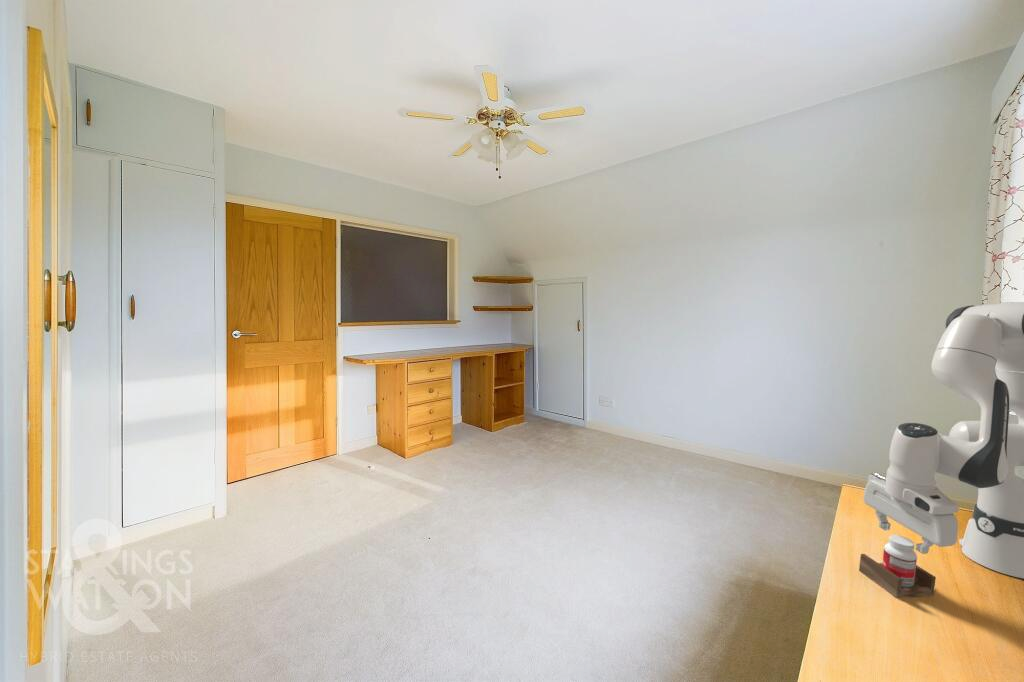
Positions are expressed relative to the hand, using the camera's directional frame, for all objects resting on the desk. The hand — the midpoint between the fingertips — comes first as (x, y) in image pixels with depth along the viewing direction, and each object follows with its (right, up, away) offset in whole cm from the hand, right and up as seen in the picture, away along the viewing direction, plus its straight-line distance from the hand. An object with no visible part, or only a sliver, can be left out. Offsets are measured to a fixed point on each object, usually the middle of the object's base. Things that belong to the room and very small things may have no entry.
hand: (902, 539), depth 107 cm
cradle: (-1, -12, +1) cm, 12 cm away
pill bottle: (-1, -11, +1) cm, 11 cm away
